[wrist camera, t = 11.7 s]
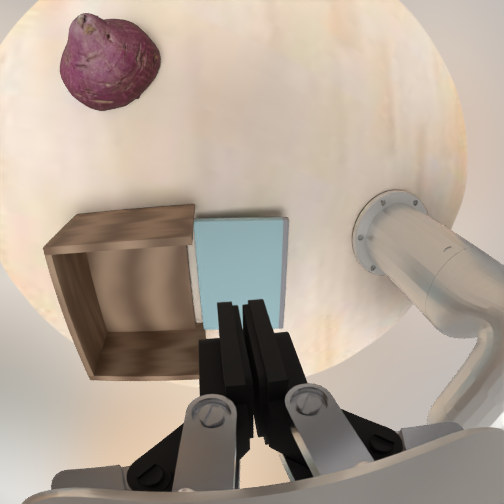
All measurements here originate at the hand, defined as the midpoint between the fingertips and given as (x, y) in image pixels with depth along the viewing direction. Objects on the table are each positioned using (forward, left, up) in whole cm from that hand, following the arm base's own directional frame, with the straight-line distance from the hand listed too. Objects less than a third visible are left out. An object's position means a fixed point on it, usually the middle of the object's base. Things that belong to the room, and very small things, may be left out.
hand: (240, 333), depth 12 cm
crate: (+10, +12, -27) cm, 31 cm away
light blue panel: (+2, +12, -26) cm, 29 cm away
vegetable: (+11, -14, -27) cm, 33 cm away
